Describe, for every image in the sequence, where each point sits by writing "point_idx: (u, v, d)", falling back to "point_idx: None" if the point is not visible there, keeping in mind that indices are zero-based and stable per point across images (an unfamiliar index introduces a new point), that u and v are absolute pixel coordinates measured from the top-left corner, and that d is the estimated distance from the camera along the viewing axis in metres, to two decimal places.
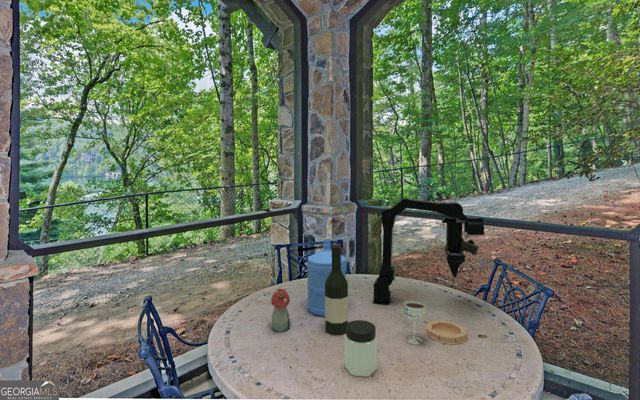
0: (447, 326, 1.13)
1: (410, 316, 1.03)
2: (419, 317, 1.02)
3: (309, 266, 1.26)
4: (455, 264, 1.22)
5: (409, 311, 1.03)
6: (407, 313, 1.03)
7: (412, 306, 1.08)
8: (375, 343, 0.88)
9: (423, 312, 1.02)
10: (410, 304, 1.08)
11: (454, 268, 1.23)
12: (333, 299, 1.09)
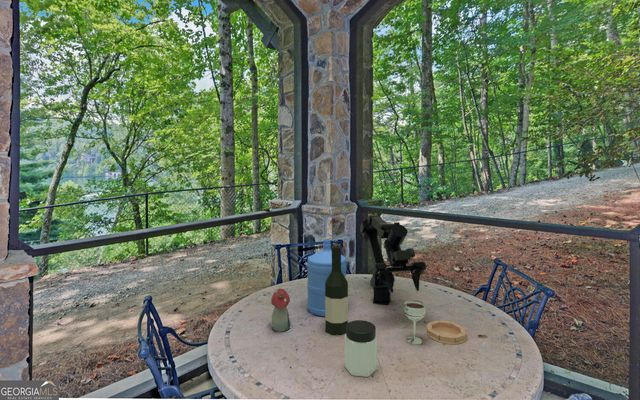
0: (447, 326, 1.13)
1: (410, 316, 1.03)
2: (419, 317, 1.02)
3: (309, 266, 1.26)
4: (385, 278, 1.15)
5: (409, 311, 1.03)
6: (407, 313, 1.03)
7: (412, 306, 1.08)
8: (375, 343, 0.88)
9: (423, 312, 1.02)
10: (410, 304, 1.08)
11: (386, 282, 1.14)
12: (333, 299, 1.09)
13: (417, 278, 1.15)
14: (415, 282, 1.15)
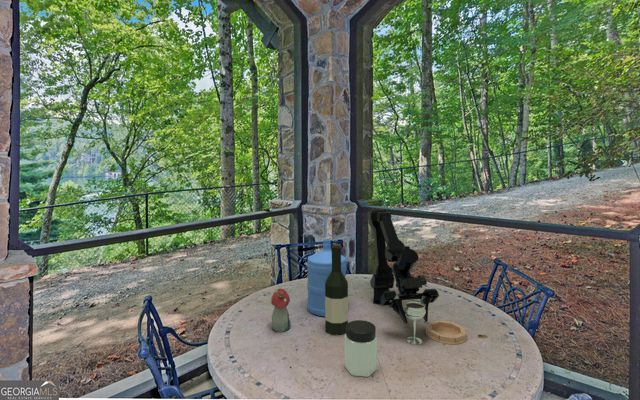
0: (447, 326, 1.13)
1: (410, 316, 1.03)
2: (419, 317, 1.02)
3: (309, 266, 1.26)
4: None
5: (409, 311, 1.03)
6: (407, 313, 1.03)
7: (412, 306, 1.08)
8: (375, 343, 0.88)
9: (423, 312, 1.02)
10: (410, 304, 1.08)
11: (399, 312, 1.06)
12: (333, 299, 1.09)
13: (425, 308, 1.06)
14: None
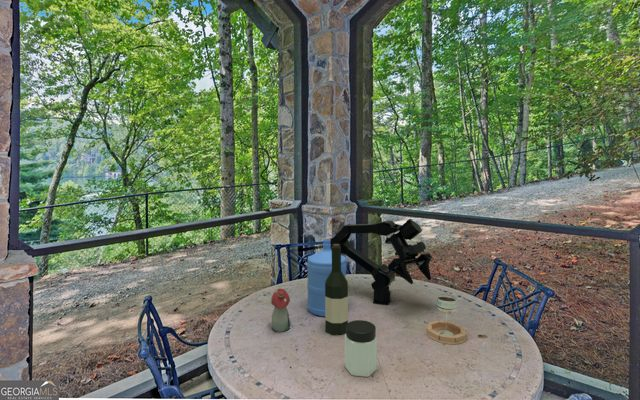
0: (447, 326, 1.13)
1: (446, 310, 1.06)
2: (454, 309, 1.06)
3: (309, 266, 1.26)
4: (403, 271, 1.22)
5: (445, 305, 1.06)
6: (443, 307, 1.06)
7: (440, 300, 1.12)
8: (375, 343, 0.88)
9: (457, 304, 1.07)
10: (438, 298, 1.12)
11: (404, 275, 1.22)
12: (333, 299, 1.09)
13: (427, 268, 1.26)
14: (425, 272, 1.26)
